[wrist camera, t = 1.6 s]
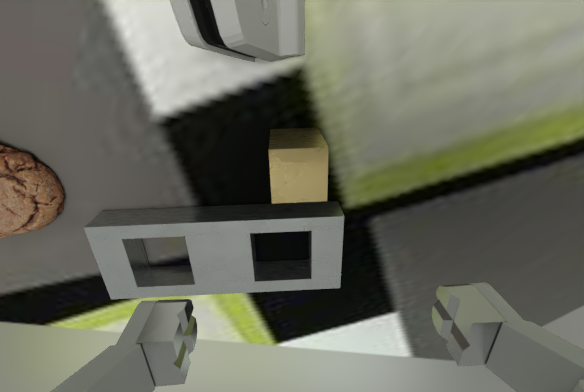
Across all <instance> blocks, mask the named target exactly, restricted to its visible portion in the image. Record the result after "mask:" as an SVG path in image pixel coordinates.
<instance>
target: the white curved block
mask: <svg viewBox="0 0 584 392" xmlns="http://www.w3.org/2000/svg"><path fill="white" fill-rule="evenodd" d="M170 3H171V6H172V9H173V12H174V14H175V17H176V20H177V23H178V25H179V28H180V31H181V34H182V35H183V37H184V39H185V40H186V42H187V43H188V44H190V45H191V46H195V47H199V48H202V49H206V50H210V51H214V52H217V53H221V54H225V55H228V56H232V57H236V58H239V59H244V60H248V61H253V62H254V57H258V58H261V59H264V60H267V61H275V60H279V59H283V58H287V57H292V56H300V55H305V17H304V0H170Z"/></svg>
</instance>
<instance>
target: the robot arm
mask: <svg viewBox="0 0 584 392" xmlns="http://www.w3.org/2000/svg"><path fill="white" fill-rule="evenodd" d="M436 296H437V297H438V299H439V300H438V301H437V302H436V303H435V304H434V305H433V310H432V317H433V323H434V325H435V328H436V330H437V331H438V333H439V335H441V336H442V337H444V338H445V339H446V340H448V341H447V348H448V350H449V352H450V353H451V355H452V357H453V358H454V360H455V362H456V363H457V365H458V366H472V365H486V367H487V368H488V369H489V370H490V371H492V372H493V373H494V374H495V375H496V376H498V377H499V378H500V379H501V380H503V381H504V382H505V383H506V384H508V385H509V386H510V387H511V388H513V389H514V390H515V391H516V392H584V349H582V348H580V347H579V346H577V345H575V344H573V343H571V342H569V341H567V340H565V339H563V338H561V337H559V336H557V335H556V334H554V333H552V332H550V331H548V330H546V329H544V328H542V327H540V326H538V325H536V324H534V323H532V322H531V321H524V320H523V319H522V318H521V317H520V316H519V315H518V314H517V313H516V312H515V311H514V310H513V309H512V307H511V306H510V305H509V304H508V303H507V302H506V301H505V300H504V299H503V298H502V297H501V296H500V295H499V294H498V293H497V292H496V291H495V290H494V289H493V288H492V287H491V285H489V284H487V283H472V284H458V285H442V286H439V288H438V289H437V292H436ZM192 311H193V305H192V301H191V300H190V299H182V300H158V301H142V302H141V303H139V304H138V306H137V308H136V309H135V311H134V313H133V315H132V317H131V318H130V320H129V322H128V324H127V326H126V327H125V329H124V331H123V333H122V335H121V336H120V338H119V340H118V342H117V344H116V345H114V346H109V347H108V348H107V349H106V350H104V351H103V352H102V353H100V354H99V355H98V356H96V357H95V358H94V359H93V360H91V361H90V362H89V363H87V364H86V365H85V366H84V367H82V368H81V369H79V370H78V371H77V372H75V373H74V374H73V375H72V376H70V377H69V378H68V379H67V380H65V381H64V382H63V383H61V384H60V385H59V386H57V387H56V388H55V389H53V390H52V391H51V392H153V390H154V389H155V387H156V386H166V385H177V384H184V383H185V380H186V376H187V373H188V369H189V365H190V359H189V354H190V353H191V352H192V351H193V350H194V347H195V343H196V338H197V323H196V318H195V317H193V316H192V315H191V314H192Z"/></svg>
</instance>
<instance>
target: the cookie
mask: <svg viewBox="0 0 584 392" xmlns="http://www.w3.org/2000/svg"><path fill="white" fill-rule="evenodd" d="M64 198H65V193H64V190H63V189H62V186H61V184H60V182H59V180H58V179H57V178H56V175H55V173H53V172H52V171H51V169H50V168H47V167H45V166H44V165H43V164H41V163H39V162H37V161H34V160H33V157H32V156H31V155H30V154H28V153H25V152H23V153H22V152H19V151H18V149H12V148H8V147H5V146H4V145H0V238H3V237H6V236H8V235H12V234H15V235H17V234H20V233H28V232H30V231H32V230H38V229H41V228H43V227H45V226H46V225H48V224H49V223H50V222H51V221H52V220H53V219H55V218H56V217H57V213H59V212H61V211H62V210H63V209H64V205H63V199H64Z"/></svg>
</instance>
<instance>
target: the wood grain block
mask: <svg viewBox="0 0 584 392" xmlns="http://www.w3.org/2000/svg"><path fill="white" fill-rule="evenodd" d="M328 154H329V147H328V145H327V144H326V142H325V140H324V138H323V136H322V134H321V133H320V131H319V129H318V128H294V129H271V130H270V140H269V165H270V181H271V197H272V204H274V203H297V202H321V201H327V189H328Z"/></svg>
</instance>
